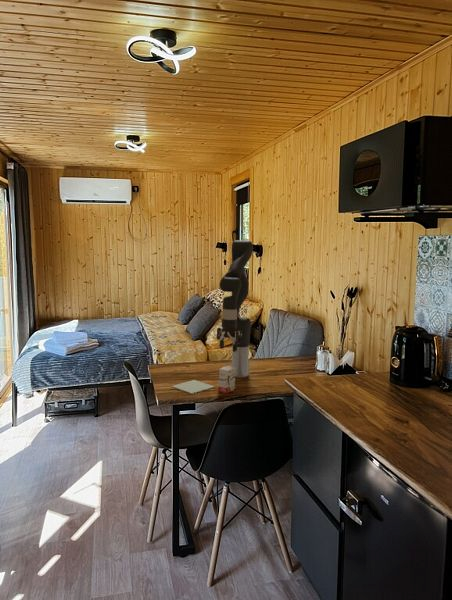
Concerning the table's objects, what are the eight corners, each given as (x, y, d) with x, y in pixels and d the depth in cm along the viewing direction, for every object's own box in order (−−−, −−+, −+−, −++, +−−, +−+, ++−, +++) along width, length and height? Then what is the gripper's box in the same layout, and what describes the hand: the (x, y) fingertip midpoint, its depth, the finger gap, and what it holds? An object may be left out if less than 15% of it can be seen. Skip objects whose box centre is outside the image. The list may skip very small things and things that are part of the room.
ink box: (226, 393, 231) (227, 370, 229) (218, 391, 233) (218, 368, 232) (235, 389, 238) (236, 366, 237) (227, 387, 241) (227, 365, 239)
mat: (194, 380, 250) (194, 379, 250) (214, 387, 240) (214, 386, 240) (171, 387, 238) (171, 386, 238) (192, 394, 228) (192, 393, 228)
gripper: (245, 319, 229) (243, 351, 231) (223, 315, 239) (222, 346, 241) (235, 320, 224) (233, 353, 226) (213, 316, 233) (212, 348, 235)
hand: (228, 349), depth 233 cm, fingers open, 8 cm apart
